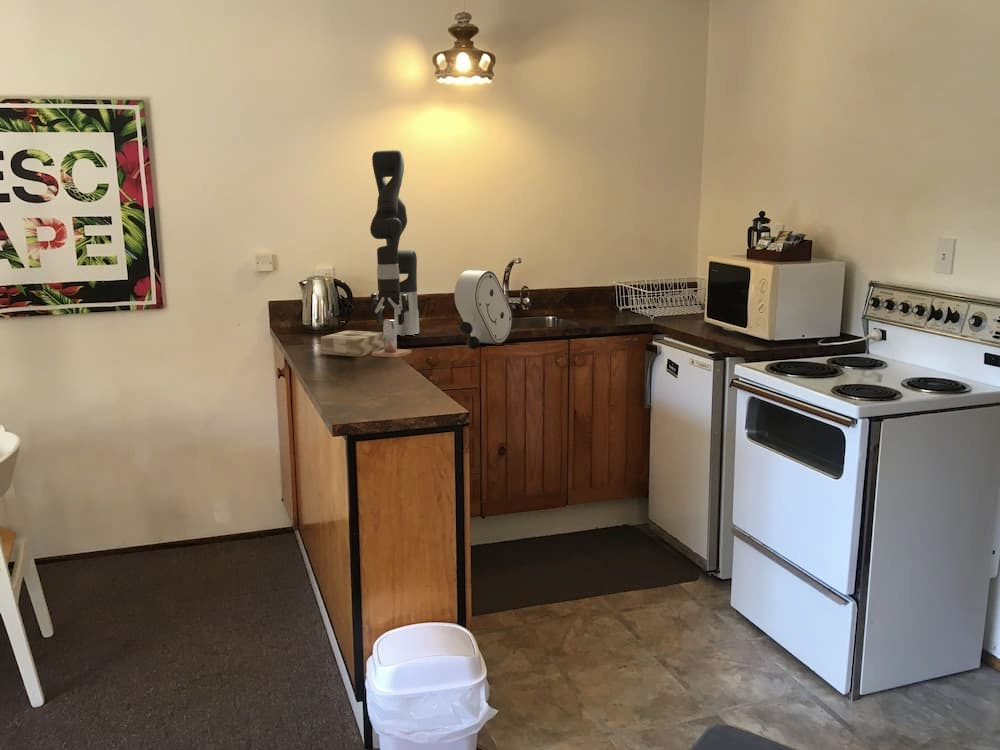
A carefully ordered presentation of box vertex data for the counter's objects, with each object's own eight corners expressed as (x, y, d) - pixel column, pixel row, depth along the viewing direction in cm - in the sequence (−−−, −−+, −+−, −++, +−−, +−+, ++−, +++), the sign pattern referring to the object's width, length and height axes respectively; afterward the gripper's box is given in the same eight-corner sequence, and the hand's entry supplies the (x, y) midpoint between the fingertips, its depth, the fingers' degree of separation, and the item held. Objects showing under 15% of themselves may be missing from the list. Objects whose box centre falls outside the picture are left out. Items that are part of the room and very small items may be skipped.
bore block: (348, 346, 319) (347, 330, 318) (385, 349, 312) (384, 332, 311) (321, 353, 305) (320, 336, 304) (359, 356, 298) (358, 339, 297)
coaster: (387, 351, 308) (387, 348, 308) (411, 352, 304) (411, 350, 304) (371, 355, 300) (371, 353, 299) (396, 357, 295) (395, 354, 295)
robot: (460, 309, 294) (489, 261, 306) (439, 308, 298) (469, 261, 311) (490, 368, 314) (516, 321, 327) (470, 366, 318) (497, 319, 331)
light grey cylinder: (388, 350, 305) (387, 319, 302) (399, 350, 303) (398, 319, 300) (381, 352, 301) (380, 320, 298) (392, 352, 299) (391, 321, 297)
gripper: (412, 276, 296) (413, 323, 300) (377, 275, 303) (379, 321, 306) (400, 278, 290) (402, 326, 293) (364, 277, 296) (367, 324, 299)
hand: (390, 324), depth 300 cm, fingers open, 8 cm apart
